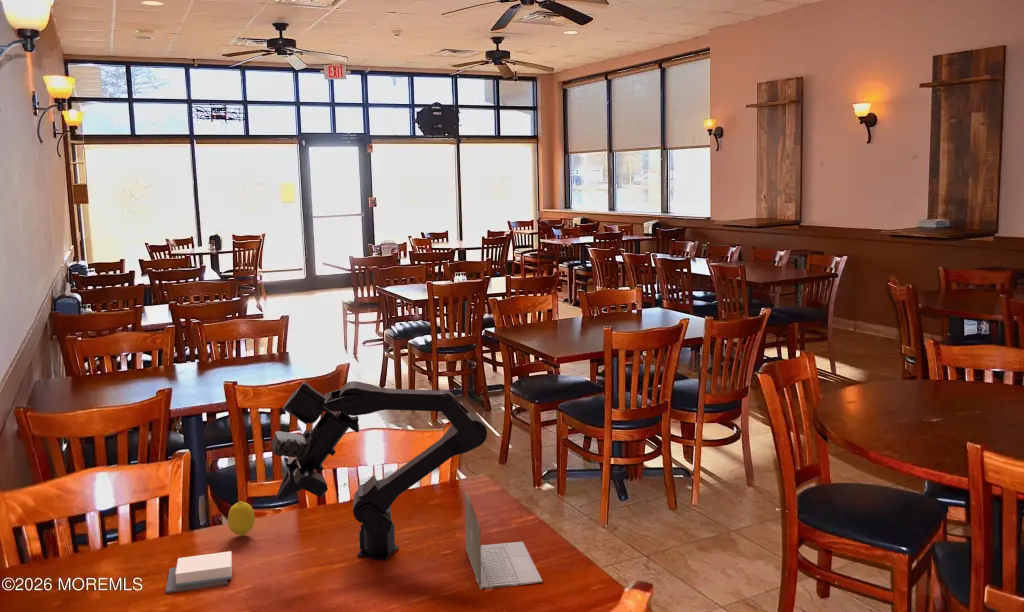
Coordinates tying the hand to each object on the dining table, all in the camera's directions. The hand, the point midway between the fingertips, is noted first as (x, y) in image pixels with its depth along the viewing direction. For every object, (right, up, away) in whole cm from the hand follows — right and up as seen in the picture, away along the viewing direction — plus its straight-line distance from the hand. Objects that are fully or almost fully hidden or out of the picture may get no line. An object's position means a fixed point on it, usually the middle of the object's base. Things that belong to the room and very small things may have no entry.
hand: (278, 498), depth 165 cm
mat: (-14, -14, -5) cm, 21 cm away
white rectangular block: (-8, -12, -3) cm, 15 cm away
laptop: (+45, -14, 0) cm, 47 cm away
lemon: (-12, -12, +14) cm, 22 cm away
